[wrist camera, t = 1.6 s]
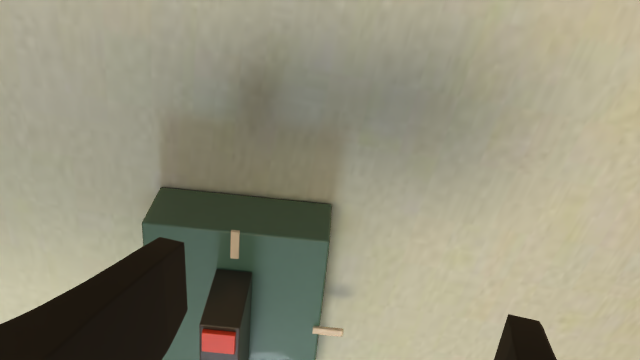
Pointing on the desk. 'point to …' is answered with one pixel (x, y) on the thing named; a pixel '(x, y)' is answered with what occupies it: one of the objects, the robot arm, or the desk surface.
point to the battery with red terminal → (226, 317)
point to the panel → (250, 265)
